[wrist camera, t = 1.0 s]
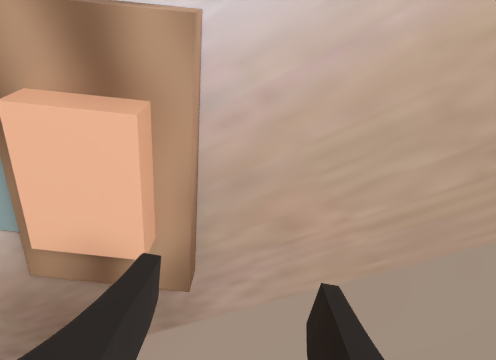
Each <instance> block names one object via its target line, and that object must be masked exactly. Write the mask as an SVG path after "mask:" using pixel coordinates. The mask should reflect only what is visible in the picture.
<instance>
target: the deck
mask: <svg viewBox="0 0 496 360" xmlns="http://www.w3.org/2000/svg"><path fill="white" fill-rule="evenodd" d="M201 35H202V9H194V8H184V7H174V6H164V5H155V4H145V3H135V2H125V1H116V0H0V99H1V98H3V97H5V96H7V95H9V94H12V93H14V92H16V91H18V90H21V89H23V88H28V89H38V90H47V91H57V92H66V93H76V94H86V95H95V96H105V97H114V98H124V99H134V100H143V101H150V104H151V131H152V158H153V185H154V212H155V240H154V242H153V244H152V246H151V249H150V251H149V253H148V254H154V255H160V256H161V268H160V280H159V289H165V290H174V291H184V292H189V291H190V287H191V283H192V280H193V276H194V272H195V252H196V216H197V180H198V143H199V107H200V71H201ZM0 158H1V162H2V166H3V170H4V174H5V178H6V182H7V185H8V189H9V193H10V197H11V201H12V205H13V209H14V213H15V217H16V221H17V225H18V229H19V233H20V237H21V241H22V245H23V249H24V253H25V257H26V260H27V264H28V268H29V272H30V275H34V276H43V277H53V278H62V279H71V280H81V281H90V282H99V283H109V284H114V283H115V282H116V281H117V280H118V279H119V278H120V277H121V276H122V275H123V274H124V273H125V272H126V270H127V269H128V268H129V267H130V266H131V265H132V264H133V263H134V262H135V260H134V259H125V258H115V257H106V256H97V255H87V254H78V253H68V252H59V251H50V250H40V249H32V247H31V243H30V239H29V234H28V230H27V226H26V222H25V218H24V214H23V209H22V205H21V201H20V197H19V193H18V189H17V184H16V180H15V176H14V172H13V168H12V164H11V159H10V155H9V151H8V147H7V143H6V139H5V134H4V130H3V126H2V122H1V118H0Z"/></svg>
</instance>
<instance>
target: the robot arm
mask: <svg viewBox="0 0 496 360" xmlns="http://www.w3.org/2000/svg"><path fill="white" fill-rule="evenodd" d="M160 268H161V256H160V255H154V254H148V253H142V254H141V255H140V256H139V257H138V258H137V259H136V260H135V262H134V263H133V264H132V265H131V266H130V267H129V268H128V269H127V270H126V272H125V273H124V274H123V275H122V276H121V277H120V278H119V279H118V280H117V281H116V282H115V283H114V284H113V285H112V286H111V287H110V288H109V289H108V290H107V291H106V292H105V293H104V294H102V295H101V296H100V297H99V298H98V299H97V300H96V301H95V302H94V303H92V304H91V305H90V306H89V307H88V308H87V309H86V310H84V311H83V312H82V313H81V314H80V315H79V316H77V317H76V318H75V319H74V320H73V321H71V322H70V323H69V324H67V325H66V326H65V327H64V328H62V329H61V330H60V331H58V332H57V333H56V334H54V335H53V336H52V337H50V338H49V339H47V340H46V341H44V342H43V343H42V344H40V345H39V346H37V347H36V348H34V349H33V350H31V351H30V352H28V353H27V354H25V355H24V356H22V357H21V358H19V359H17V360H136V358H137V356H138V353H139V351H140V348H141V346H142V344H143V342H144V339H145V337H146V334H147V332H148V330H149V327H150V324H151V321H152V317H153V314H154V311H155V307H156V304H157V300H158V293H159V280H160ZM307 357H308V360H384V358H383V357H382V356H381V354H380V353H379V351H378V350H377V348H376V347H375V345H374V344H373V342H372V341H371V339H370V337H369V336H368V334H367V333H366V331H365V330H364V328H363V326H362V325H361V323H360V322H359V320H358V318H357V317H356V315H355V313H354V312H353V310H352V308H351V306H350V305H349V303H348V301H347V300H346V298H345V296H344V294H343V293H342V291H341V289H340V288H339V286H335V285H329V284H323V283H321V285H320V288H319V291H318V293H317V296H316V299H315V302H314V304H313V307H312V310H311V313H310V315H309V318H308V321H307Z"/></svg>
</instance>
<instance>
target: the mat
mask: <svg viewBox="0 0 496 360" xmlns="http://www.w3.org/2000/svg"><path fill="white" fill-rule="evenodd" d="M0 230H6V231H16V232H19V229H18V225H17V221H16V217H15V213H14V209H13V205H12V201H11V197H10V193H9V189H8V185H7V182H6V178H5V174H4V170H3V166H2V162H1V158H0Z"/></svg>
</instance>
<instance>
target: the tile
mask: <svg viewBox="0 0 496 360" xmlns="http://www.w3.org/2000/svg"><path fill="white" fill-rule="evenodd" d="M0 118H1V122H2V126H3V130H4V134H5V139H6V143H7V147H8V151H9V155H10V159H11V164H12V168H13V172H14V176H15V180H16V184H17V189H18V193H19V197H20V201H21V205H22V209H23V214H24V218H25V222H26V226H27V230H28V234H29V239H30V243H31V247H32V249H40V250H50V251H59V252H68V253H78V254H87V255H97V256H106V257H115V258H125V259H134V260H136V259H137V258H138V257H139V256H140V255H141V254H142V253H149V251H150V249H151V246H152V244H153V242H154V240H155V212H154V185H153V158H152V131H151V104H150V101H143V100H134V99H124V98H114V97H105V96H95V95H86V94H76V93H66V92H57V91H47V90H38V89H28V88H23V89H21V90H18V91H16V92H14V93H12V94H9V95H7V96H5V97H3V98H1V99H0Z"/></svg>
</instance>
